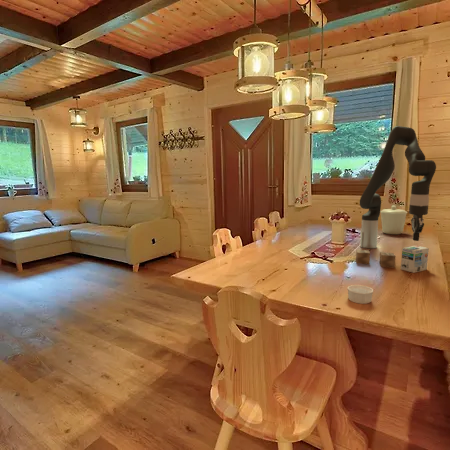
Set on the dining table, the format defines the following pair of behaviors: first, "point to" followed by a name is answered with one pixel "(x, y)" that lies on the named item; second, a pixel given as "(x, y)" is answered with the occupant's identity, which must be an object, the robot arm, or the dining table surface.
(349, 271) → the dining table surface
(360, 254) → the walnut block two
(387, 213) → the canister
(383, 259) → the walnut block one
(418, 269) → the light bulb box
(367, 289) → the ramekin
